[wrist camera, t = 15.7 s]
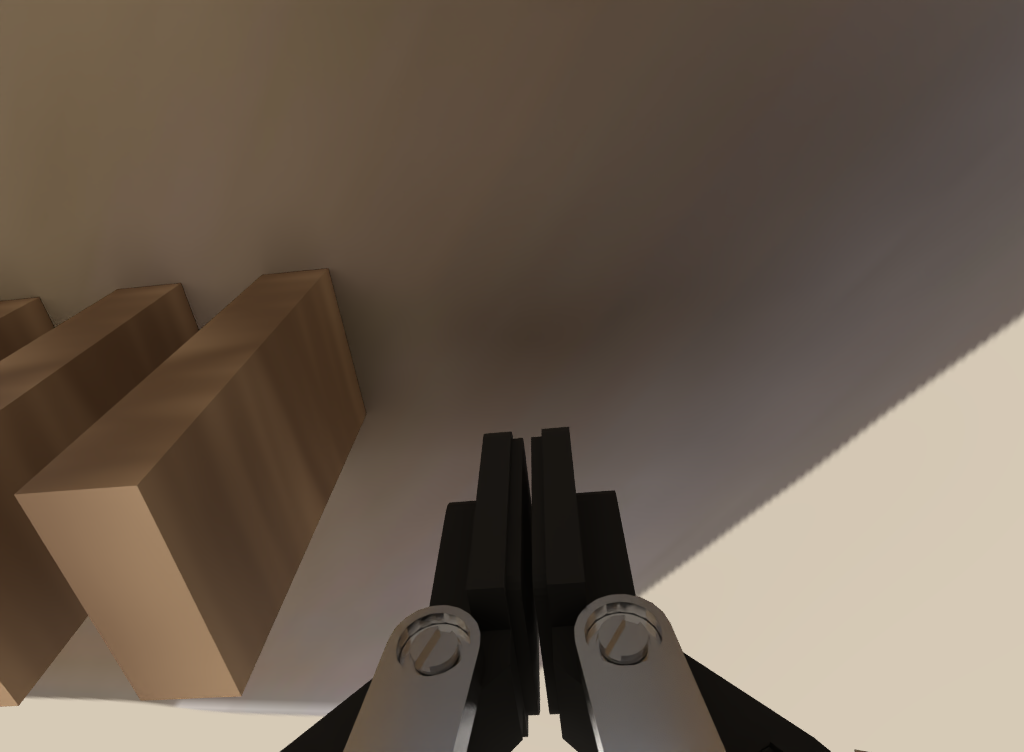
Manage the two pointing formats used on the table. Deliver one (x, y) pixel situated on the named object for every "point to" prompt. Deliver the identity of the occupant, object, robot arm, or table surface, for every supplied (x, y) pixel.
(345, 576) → the table surface
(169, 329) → the brown flat rectangular block
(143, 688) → the tile
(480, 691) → the robot arm
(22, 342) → the brown wooden block
